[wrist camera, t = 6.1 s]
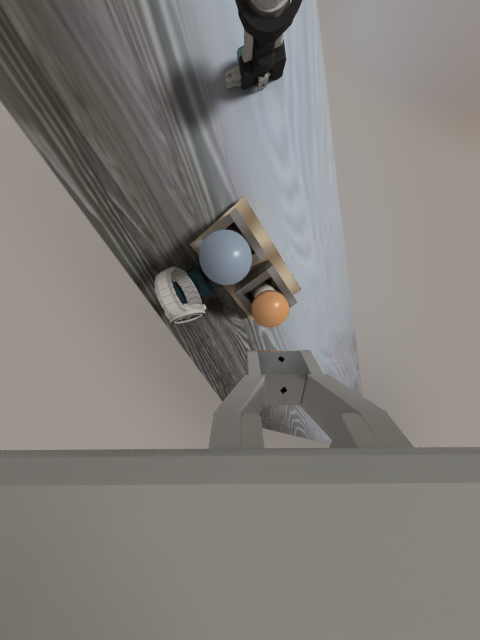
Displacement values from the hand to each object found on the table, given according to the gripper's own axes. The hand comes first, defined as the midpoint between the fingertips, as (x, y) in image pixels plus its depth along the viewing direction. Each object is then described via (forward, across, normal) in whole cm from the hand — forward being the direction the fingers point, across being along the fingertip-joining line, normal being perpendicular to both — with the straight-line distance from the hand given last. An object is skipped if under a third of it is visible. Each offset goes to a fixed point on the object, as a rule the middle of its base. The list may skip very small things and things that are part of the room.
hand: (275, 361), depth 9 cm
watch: (+24, +10, +3) cm, 26 cm away
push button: (+25, 0, -21) cm, 33 cm away
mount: (+24, 0, 0) cm, 24 cm away
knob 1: (+18, +3, -3) cm, 19 cm away
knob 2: (+22, -2, +3) cm, 22 cm away
